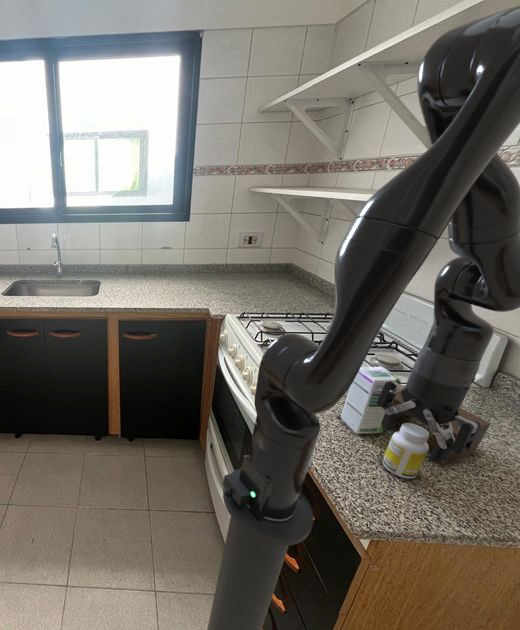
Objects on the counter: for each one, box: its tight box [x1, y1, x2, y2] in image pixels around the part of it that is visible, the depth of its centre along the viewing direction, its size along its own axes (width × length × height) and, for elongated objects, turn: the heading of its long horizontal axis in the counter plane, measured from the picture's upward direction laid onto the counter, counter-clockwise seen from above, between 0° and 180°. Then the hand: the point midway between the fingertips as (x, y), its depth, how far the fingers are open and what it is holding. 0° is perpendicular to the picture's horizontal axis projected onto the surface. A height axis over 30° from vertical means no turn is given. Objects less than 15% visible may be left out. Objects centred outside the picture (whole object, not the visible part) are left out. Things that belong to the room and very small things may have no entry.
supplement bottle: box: [382, 422, 430, 480], centre depth 67 cm, size 5×5×10 cm
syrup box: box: [340, 365, 402, 435], centre depth 77 cm, size 6×6×14 cm
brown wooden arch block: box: [392, 392, 492, 466], centre depth 75 cm, size 10×14×8 cm
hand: (409, 444), depth 66 cm, fingers open, 8 cm apart
